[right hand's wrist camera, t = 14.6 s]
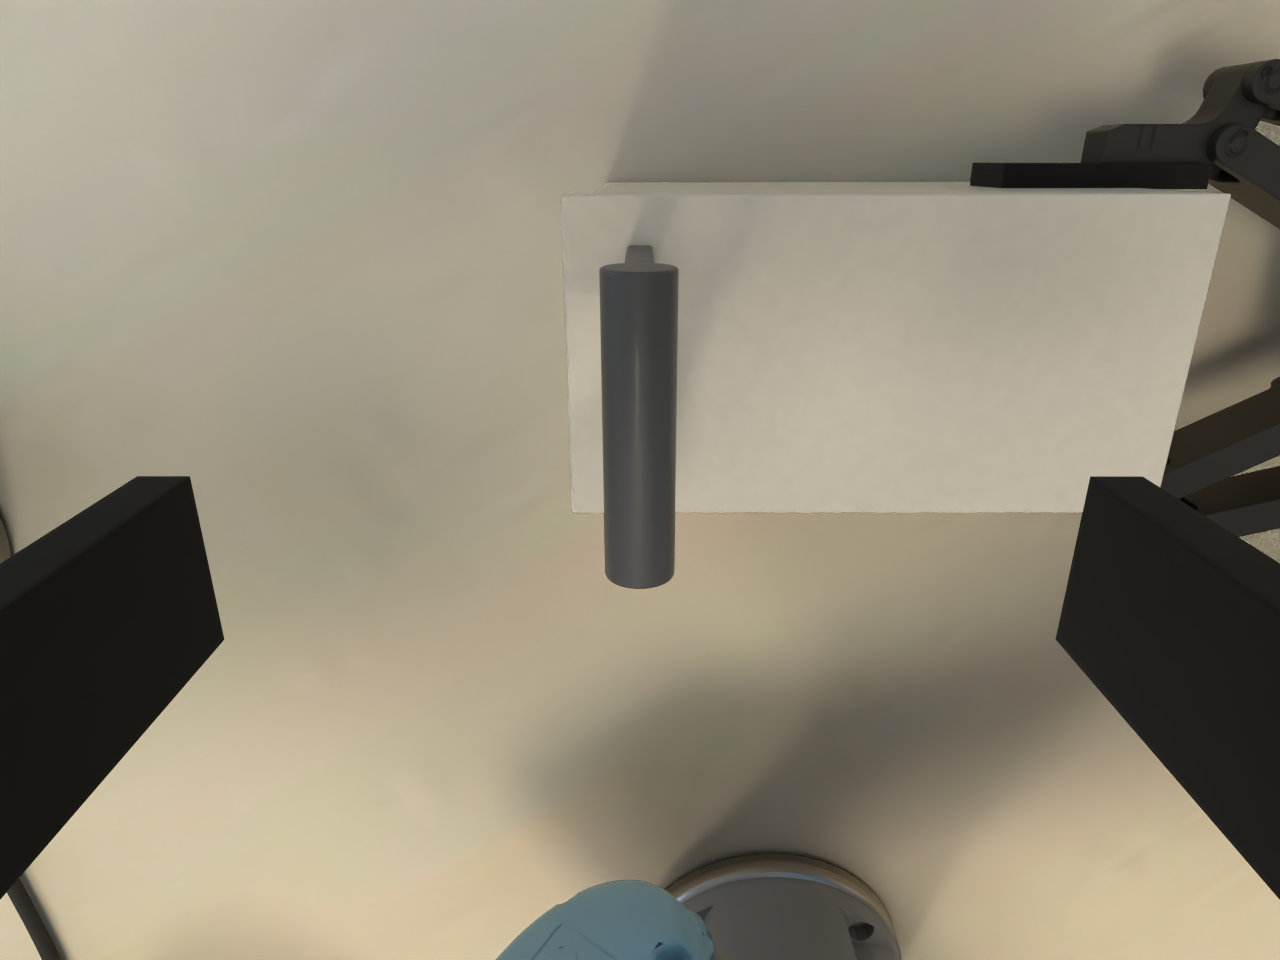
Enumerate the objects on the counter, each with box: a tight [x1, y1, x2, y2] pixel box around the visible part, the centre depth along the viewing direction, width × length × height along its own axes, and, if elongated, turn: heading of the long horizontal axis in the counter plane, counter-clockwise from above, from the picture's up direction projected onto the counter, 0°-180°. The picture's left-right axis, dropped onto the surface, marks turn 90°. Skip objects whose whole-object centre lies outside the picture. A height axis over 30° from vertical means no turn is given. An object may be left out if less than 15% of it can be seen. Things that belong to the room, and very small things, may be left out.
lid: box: [561, 192, 1231, 589], centre depth 21 cm, size 18×9×8 cm, turn 90°
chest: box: [594, 182, 1195, 193], centre depth 30 cm, size 17×9×11 cm, turn 90°
